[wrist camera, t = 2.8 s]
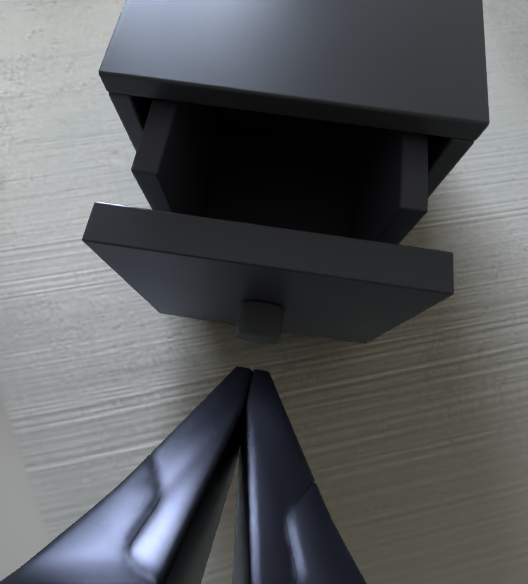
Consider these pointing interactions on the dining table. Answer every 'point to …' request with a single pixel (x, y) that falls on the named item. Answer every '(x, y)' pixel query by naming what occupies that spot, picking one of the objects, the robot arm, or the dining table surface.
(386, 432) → the dining table surface
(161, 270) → the fryer drawer
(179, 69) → the dark grey box
